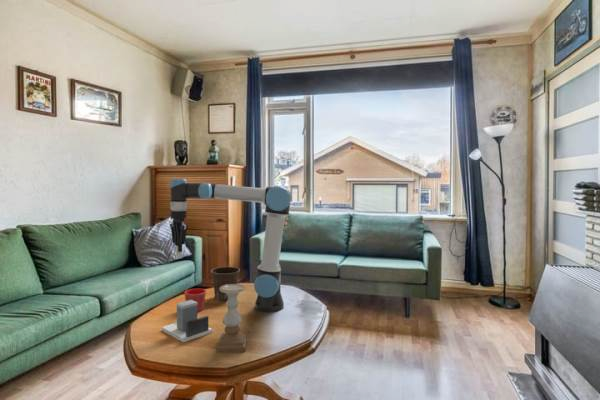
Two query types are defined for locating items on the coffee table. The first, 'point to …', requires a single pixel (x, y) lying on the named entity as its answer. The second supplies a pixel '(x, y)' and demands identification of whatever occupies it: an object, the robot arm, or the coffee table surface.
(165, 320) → the coffee table surface
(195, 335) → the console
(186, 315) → the grey rectangular block
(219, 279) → the plant pot
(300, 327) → the coffee table surface
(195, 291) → the flower pot
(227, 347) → the candle holder
